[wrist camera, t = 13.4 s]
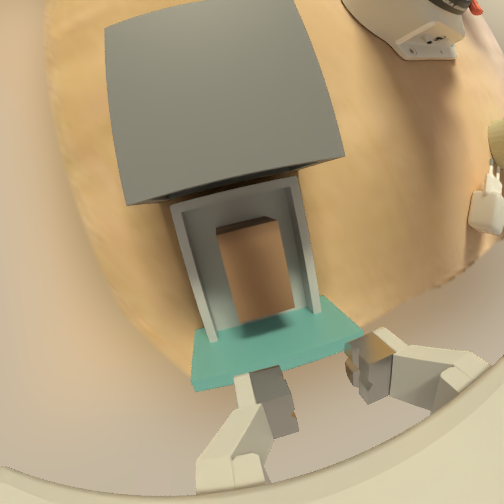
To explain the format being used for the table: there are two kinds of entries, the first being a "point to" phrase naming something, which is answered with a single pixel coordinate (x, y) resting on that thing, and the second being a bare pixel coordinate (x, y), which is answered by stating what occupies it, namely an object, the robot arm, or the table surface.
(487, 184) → the power adapter
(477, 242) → the table surface
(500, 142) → the reusable coffee cup
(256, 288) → the walnut block
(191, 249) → the teal drawer
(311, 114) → the gray drawer box
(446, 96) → the table surface
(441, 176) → the table surface
